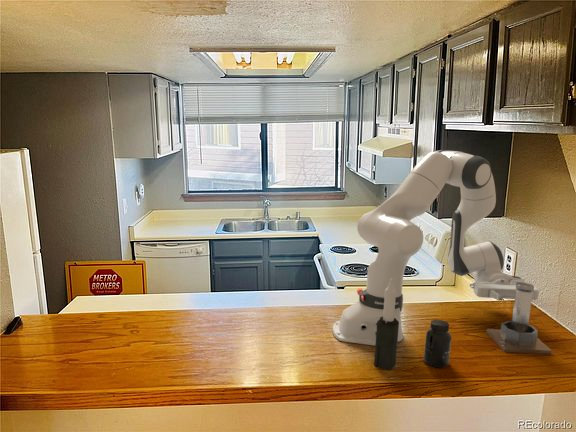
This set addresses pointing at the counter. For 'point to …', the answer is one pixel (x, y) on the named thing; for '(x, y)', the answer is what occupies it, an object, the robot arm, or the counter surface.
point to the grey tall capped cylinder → (522, 307)
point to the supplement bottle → (437, 344)
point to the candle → (387, 332)
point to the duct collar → (518, 340)
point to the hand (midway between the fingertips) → (515, 298)
